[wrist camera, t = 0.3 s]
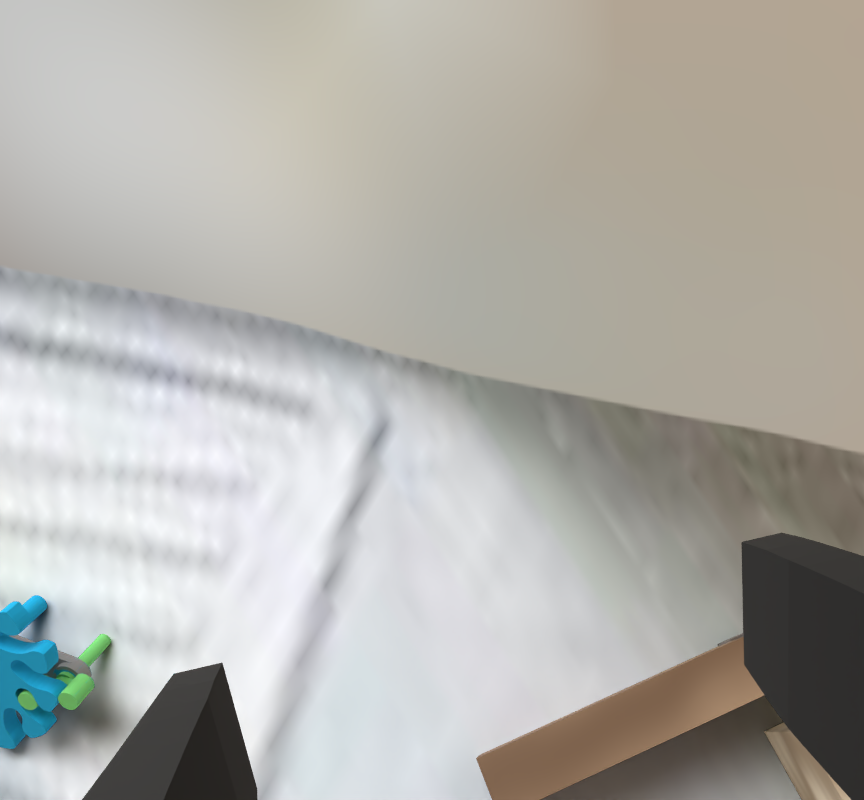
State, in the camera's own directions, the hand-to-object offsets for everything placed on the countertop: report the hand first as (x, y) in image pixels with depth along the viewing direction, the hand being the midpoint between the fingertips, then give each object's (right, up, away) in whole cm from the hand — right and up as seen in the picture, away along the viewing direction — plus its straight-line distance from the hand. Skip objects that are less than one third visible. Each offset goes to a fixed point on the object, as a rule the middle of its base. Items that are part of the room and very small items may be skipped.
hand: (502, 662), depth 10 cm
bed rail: (+8, -12, +26) cm, 30 cm away
